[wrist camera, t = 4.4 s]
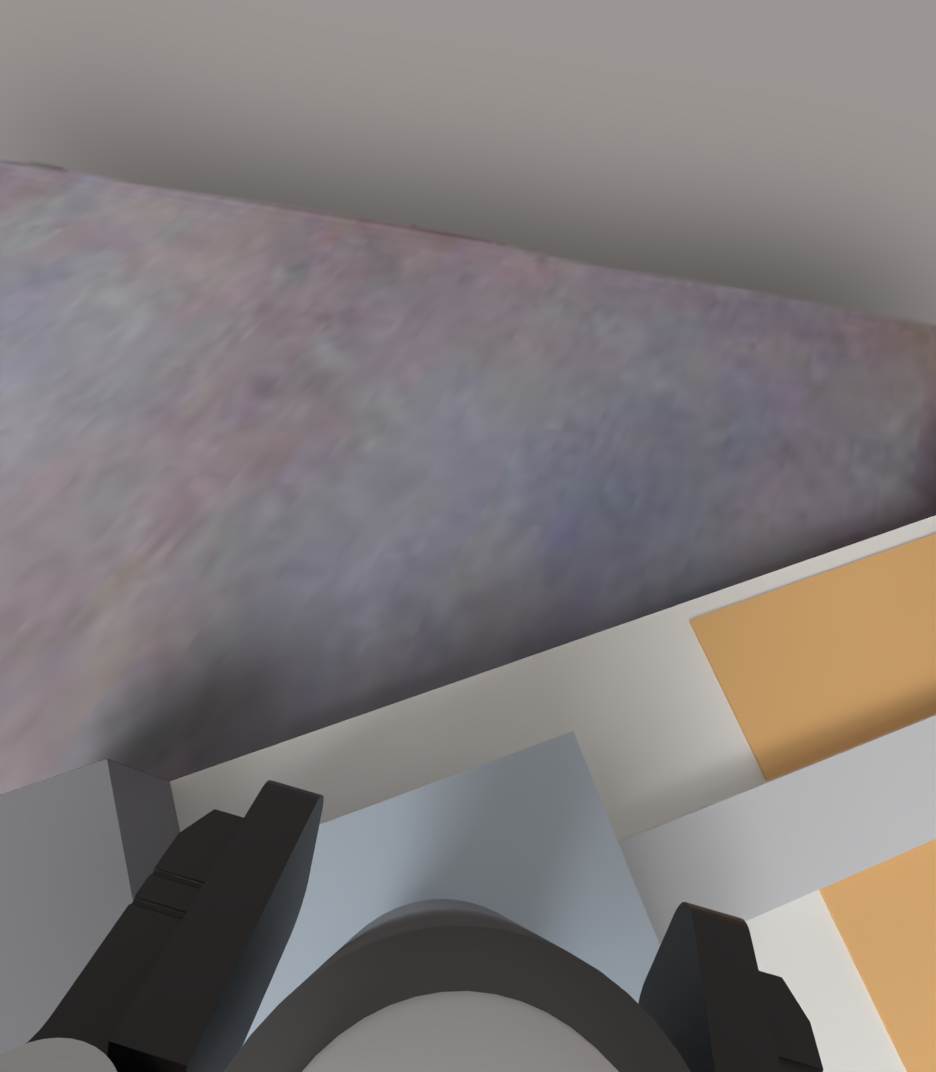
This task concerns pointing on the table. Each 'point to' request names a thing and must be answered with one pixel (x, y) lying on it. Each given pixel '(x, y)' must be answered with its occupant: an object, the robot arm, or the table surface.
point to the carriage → (468, 935)
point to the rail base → (615, 790)
